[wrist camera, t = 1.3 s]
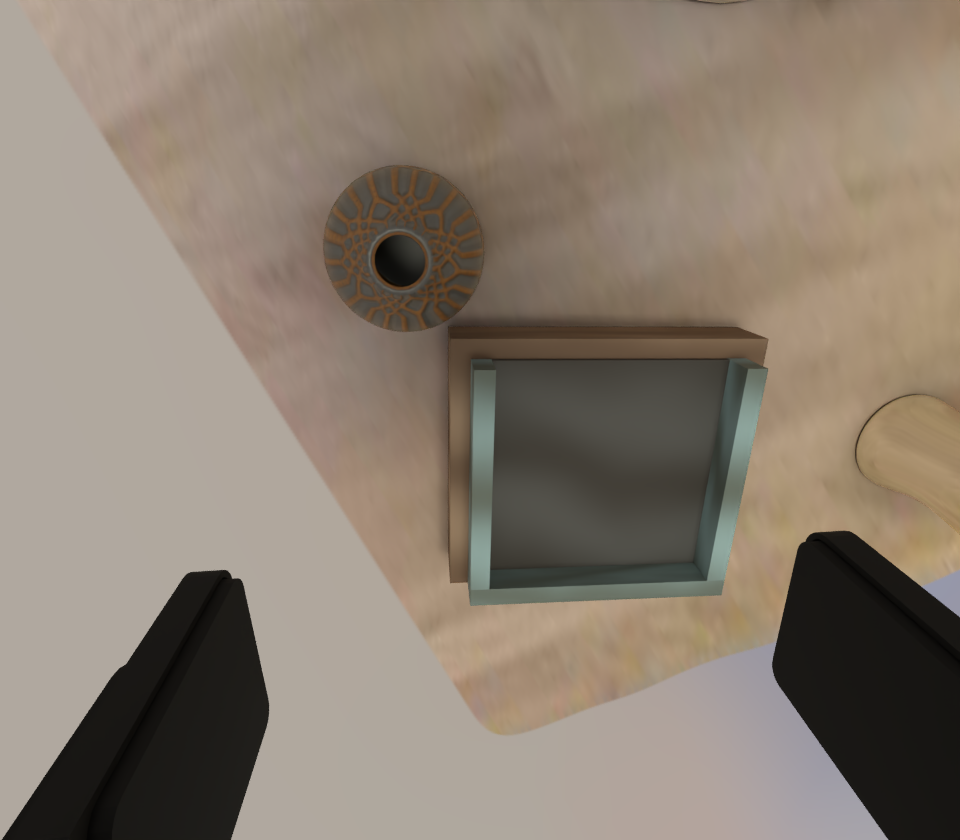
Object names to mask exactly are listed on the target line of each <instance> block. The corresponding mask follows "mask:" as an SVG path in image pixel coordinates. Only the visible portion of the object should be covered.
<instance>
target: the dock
mask: <svg viewBox="0 0 960 840" xmlns="http://www.w3.org/2000/svg"><path fill="white" fill-rule="evenodd" d="M767 344H768V339H767V338H765V337H762V336H759V335H757V334H754V333H751V332H749V331H746V330H743V329H741V328H738V327H448V554H449V571H450V583H463V582H468V589H469V598H470V606H474V605H498V604H522V603H546V602H570V601H594V600H618V599H642V598H666V597H690V596H714V595H721V594H722V589H723V585H724V580H725V575H726V570H727V565H728V561H729V556H730V551H731V546H732V541H733V536H734V532H735V527H736V522H737V517H738V512H739V508H740V503H741V498H742V493H743V488H744V484H745V479H746V474H747V469H748V464H749V459H750V455H751V450H752V445H753V440H754V435H755V431H756V426H757V421H758V416H759V411H760V407H761V402H762V397H763V392H764V387H765V382H766V378H767V373H768V368H765V367H763V364H764V359H765V354H766V349H767Z"/></svg>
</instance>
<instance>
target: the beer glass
mask: <svg viewBox="0 0 960 840" xmlns="http://www.w3.org/2000/svg"><path fill="white" fill-rule="evenodd" d="M856 458H857V463H858V466H859V468H860V470H861V472H862V473H863V474H864V476H865V477H867V478H868V479H869V480H870V481H872V482H874V483H875V484H877V485H880V486H882V487H885V488H887V489H890V490H893V491H896V492H899V493H901V494H904V495H907V496H909V497H911V498H913V499H915V500H917V501H919V502H921V503H922V504H924V505H925V506H926V507H928V508H929V509H931V510H932V511H933V512H934V513H936V514H937V515H938V516H939V517H940V518H942V519H943V520H944V521H945V522H946V523H947V524H948V525H950V526H951V527H952V528H953V529H954V530H955V531H956V532H957V533H958V534H960V412H959V411H957V410H956V409H954V408H953V407H951V406H950V405H948V404H947V403H945V402H943V401H942V400H940V399H937V398H935V397H932V396H927V395H910V396H905V397H902V398H899V399H897V400H894V401H892V402H890V403H889V404H887V405H886V406H884V407H883V408H881V409H880V410H879V411H878V412H877V413H876V414H875V415H874V416H873V417H872V418H871V419H870V420H869V421H868V423H867V424H866V426H865V427H864V429H863V431H862V433H861V435H860V437H859V440H858V444H857V449H856Z"/></svg>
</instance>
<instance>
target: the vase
mask: <svg viewBox="0 0 960 840" xmlns="http://www.w3.org/2000/svg"><path fill="white" fill-rule="evenodd" d="M323 250H324V259H325V264H326V269H327V272H328V275H329V277H330V280H331V282H332V284H333V286H334V288H335V290H336V291H337V293H338V294H339V296H340V297H341V299H342V300H343V301H344V302H345V304H346V305H347V306H348V307H349V308H350V309H351V310H352V311H353V312H355V313H356V314H357V315H358V316H360V317H361V318H363V319H364V320H366V321H368V322H370V323H372V324H374V325H376V326H378V327H381V328H384V329H388V330H392V331H400V332H414V331H421V330H426V329H429V328H432V327H435V326H437V325H440V324H442V323H444V322H445V321H447V320H448V319H450V318H451V317H453V316H454V315H455V314H456V313H458V312H459V311H460V310H461V309H462V308H463V306H464V305H465V304H466V303H467V302H468V300H469V299H470V297H471V296H472V294H473V293H474V291H475V289H476V287H477V284H478V282H479V279H480V276H481V273H482V268H483V262H484V241H483V235H482V230H481V227H480V224H479V221H478V218H477V216H476V214H475V212H474V210H473V208H472V206H471V205H470V203H469V202H468V200H467V199H466V198H465V197H464V195H463V194H462V193H461V192H460V191H459V190H458V189H457V188H456V187H455V186H454V185H453V184H451V183H450V182H449V181H447V180H446V179H445V178H443V177H441V176H440V175H438V174H436V173H434V172H431V171H429V170H426V169H423V168H419V167H414V166H407V165H394V166H387V167H382V168H379V169H375V170H373V171H370V172H368V173H366V174H364V175H362V176H361V177H359V178H358V179H356V180H355V181H354V182H352V183H351V184H350V185H349V186H348V187H347V188H346V189H345V190H344V191H343V192H342V193H341V195H340V196H339V197H338V199H337V200H336V202H335V204H334V205H333V207H332V209H331V212H330V214H329V217H328V220H327V223H326V227H325V232H324V244H323Z"/></svg>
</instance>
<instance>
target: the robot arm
mask: <svg viewBox="0 0 960 840" xmlns="http://www.w3.org/2000/svg"><path fill="white" fill-rule="evenodd" d="M698 1H707V2H715V3H729V2H737V1H745V0H698ZM772 668H773V673H774V676H775V679H776V681H777V683H778V685H779V686H780V688H781V689H782V691H783V692H784V693H785V695H786V696H787V697H788V699H789V700H790V701H791V703H792V705H793V706H794V708H795V709H796V710H797V712H798V713H799V714H800V716H801V717H802V719H803V720H804V721H805V723H806V724H807V726H808V727H809V729H810V730H811V731H812V733H813V734H814V736H815V737H816V738H817V740H818V741H819V743H820V744H821V745H822V747H823V748H824V750H825V751H826V753H827V754H828V755H829V757H830V758H831V759H832V761H833V762H834V764H835V765H836V767H837V768H838V769H839V771H840V772H841V774H842V775H843V776H844V778H845V779H846V781H847V782H848V784H849V785H850V786H851V788H852V789H853V790H854V792H855V793H856V795H857V796H858V798H859V799H860V800H861V802H862V803H863V804H864V806H865V807H866V809H867V810H868V812H869V813H870V814H871V816H872V817H873V819H874V820H875V821H876V823H877V824H878V825H879V827H880V828H881V830H882V831H883V833H884V834H885V836H886V837H887V838H888V840H960V617H959V616H957V615H956V614H955V613H954V612H952V611H951V610H950V609H949V608H947V607H946V606H945V605H943V604H942V603H941V602H940V601H938V600H937V599H936V598H935V597H934V596H932V595H931V594H930V593H928V592H927V591H926V590H925V589H923V588H922V587H921V586H920V585H918V584H917V583H916V582H915V581H913V580H912V579H911V578H910V577H908V576H907V575H906V574H905V573H903V572H902V571H901V570H900V569H898V568H897V567H896V566H894V565H893V564H892V563H891V562H889V561H888V560H887V559H886V558H884V557H883V556H882V555H881V554H879V553H878V552H877V551H876V550H874V549H873V548H872V547H871V546H869V545H868V544H867V543H866V542H864V541H863V540H862V539H860V538H859V537H858V536H857V535H855V534H854V533H852V532H850V531H833V532H817V533H813V534H810V535H809V536H808V537H807V539H806V542H803V543H801V544H800V545H799V548H798V550H797V555H796V559H795V564H794V568H793V572H792V577H791V581H790V586H789V590H788V594H787V599H786V603H785V608H784V612H783V617H782V621H781V625H780V630H779V634H778V639H777V643H776V647H775V652H774V656H773V662H772ZM268 717H269V701H268V696H267V691H266V687H265V682H264V677H263V673H262V668H261V664H260V659H259V655H258V650H257V645H256V641H255V636H254V631H253V627H252V622H251V618H250V613H249V608H248V604H247V599H246V595H245V590H244V586H243V583H242V581H241V579H232V577H231V574H230V573H229V572H228V571H226V570H219V571H218V570H217V571H202V572H190V573H188V574H187V575H186V576H185V577H184V578H183V579H182V581H181V582H180V584H179V585H178V587H177V588H176V590H175V592H174V593H173V594H172V596H171V598H170V599H169V600H168V602H167V603H166V605H165V606H164V608H163V610H162V611H161V613H160V614H159V616H158V617H157V618H156V620H155V621H154V623H153V625H152V626H151V628H150V629H149V631H148V632H147V634H146V635H145V637H144V638H143V640H142V641H141V643H140V644H139V646H138V647H137V649H136V650H135V652H134V653H133V655H132V656H131V658H130V659H129V661H128V662H127V664H126V665H124V666H123V667H121V668H119V669H118V671H117V672H116V673H115V674H114V675H113V676H112V677H111V679H110V680H109V682H108V683H107V685H106V686H105V688H104V690H103V691H102V693H101V694H100V695H99V697H98V698H97V700H96V701H95V703H94V704H93V706H92V707H91V709H90V710H89V711H88V713H87V714H86V716H85V717H84V719H83V720H82V722H81V724H80V725H79V727H78V728H77V729H76V731H75V732H74V734H73V735H72V737H71V738H70V740H69V741H68V743H67V744H66V746H65V747H64V749H63V750H62V751H61V753H60V755H59V756H58V758H57V759H56V760H55V762H54V764H53V765H52V766H51V768H50V769H49V771H48V772H47V774H46V775H45V777H44V778H43V780H42V781H41V783H40V784H39V786H38V787H37V789H36V790H35V791H34V793H33V794H32V796H31V798H30V799H29V800H28V802H27V804H26V805H25V806H24V808H23V809H22V811H21V812H20V814H19V815H18V817H17V818H16V820H15V821H14V823H13V824H12V826H11V827H10V829H9V830H8V832H7V833H6V835H5V836H4V837H3V839H2V840H231V837H232V834H233V831H234V828H235V825H236V822H237V818H238V815H239V812H240V809H241V806H242V803H243V800H244V796H245V793H246V790H247V787H248V784H249V780H250V778H251V774H252V771H253V768H254V765H255V762H256V759H257V755H258V752H259V749H260V746H261V743H262V739H263V737H264V733H265V730H266V727H267V723H268Z"/></svg>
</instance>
